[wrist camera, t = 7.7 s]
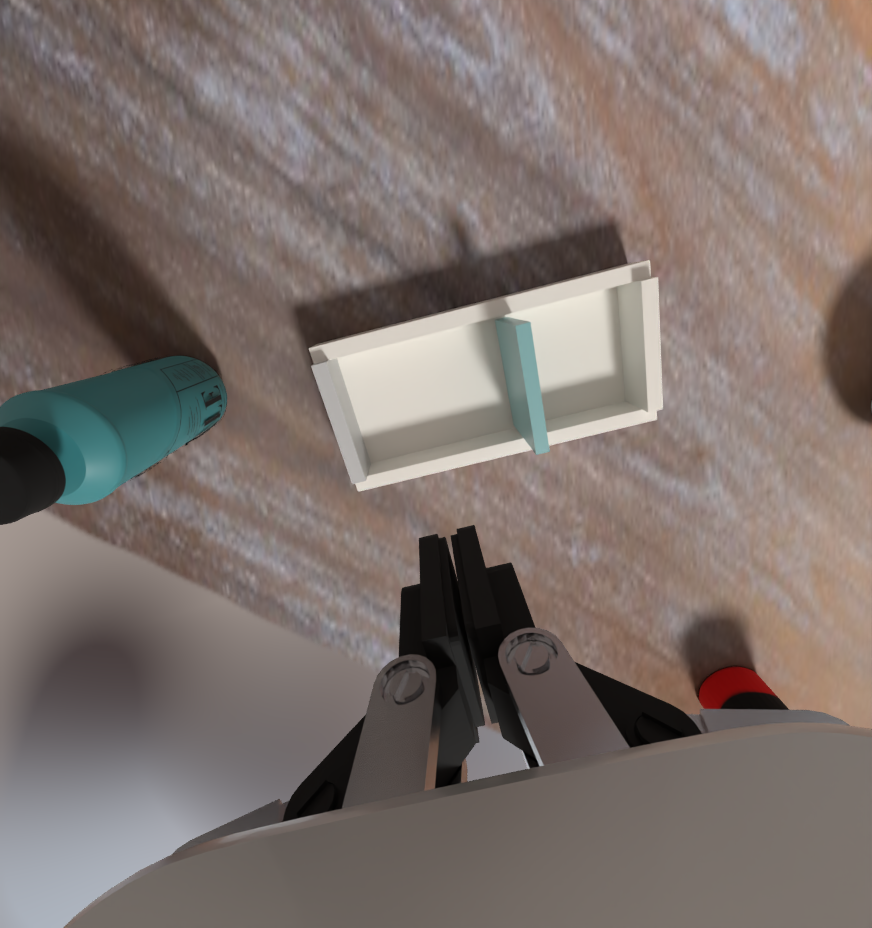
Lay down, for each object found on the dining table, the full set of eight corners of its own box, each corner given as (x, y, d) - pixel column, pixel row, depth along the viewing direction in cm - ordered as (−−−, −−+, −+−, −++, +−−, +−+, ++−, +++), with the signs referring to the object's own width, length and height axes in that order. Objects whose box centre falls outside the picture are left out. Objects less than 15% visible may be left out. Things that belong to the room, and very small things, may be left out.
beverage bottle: (146, 355, 35) (-161, 423, 16) (226, 345, 35) (11, 402, 16) (174, 430, 37) (-66, 564, 19) (248, 421, 37) (83, 545, 19)
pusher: (494, 319, 34) (515, 325, 27) (506, 316, 34) (530, 322, 27) (513, 425, 38) (536, 454, 31) (524, 422, 38) (549, 451, 31)
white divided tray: (318, 343, 35) (305, 349, 31) (628, 263, 34) (657, 259, 30) (362, 476, 40) (356, 496, 36) (637, 409, 38) (663, 422, 34)
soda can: (757, 701, 54) (847, 807, 42) (698, 715, 54) (771, 823, 43) (758, 658, 51) (854, 759, 40) (695, 673, 51) (773, 777, 40)
